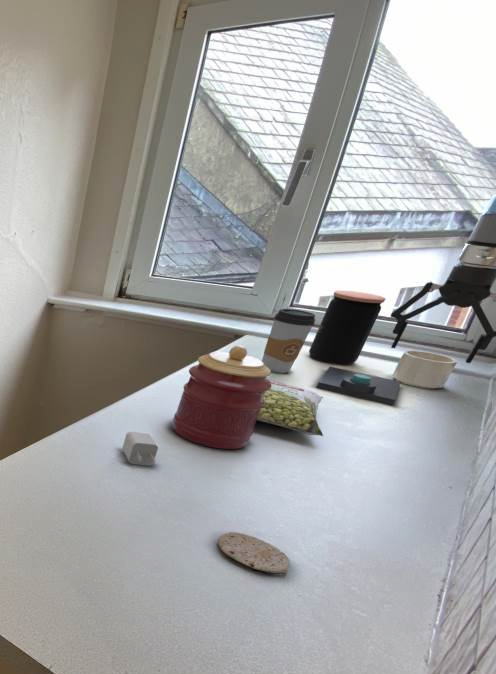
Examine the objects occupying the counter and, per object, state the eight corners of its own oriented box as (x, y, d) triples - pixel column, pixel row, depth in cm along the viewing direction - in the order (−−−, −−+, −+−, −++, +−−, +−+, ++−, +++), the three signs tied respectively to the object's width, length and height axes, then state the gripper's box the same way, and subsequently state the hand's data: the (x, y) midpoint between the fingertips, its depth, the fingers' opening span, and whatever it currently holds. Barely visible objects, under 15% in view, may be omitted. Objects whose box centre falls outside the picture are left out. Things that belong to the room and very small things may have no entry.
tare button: (368, 383, 128) (372, 376, 127) (367, 386, 126) (370, 379, 125) (351, 379, 130) (354, 372, 129) (349, 382, 128) (353, 375, 127)
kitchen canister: (155, 424, 108) (182, 337, 100) (204, 417, 112) (233, 333, 105) (212, 454, 97) (248, 360, 90) (264, 445, 101) (302, 355, 94)
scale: (398, 386, 134) (404, 375, 133) (392, 406, 122) (398, 393, 121) (327, 371, 143) (332, 360, 142) (315, 388, 131) (320, 376, 130)
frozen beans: (203, 388, 110) (220, 359, 128) (193, 414, 112) (211, 382, 130) (331, 422, 99) (330, 385, 117) (316, 450, 102) (317, 409, 120)
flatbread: (205, 547, 73) (208, 541, 72) (234, 530, 77) (237, 524, 76) (272, 584, 67) (275, 577, 66) (300, 564, 70) (303, 558, 70)
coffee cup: (265, 373, 140) (288, 315, 133) (249, 362, 147) (270, 307, 140) (300, 376, 139) (325, 317, 132) (282, 365, 146) (305, 309, 139)
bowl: (442, 383, 138) (457, 357, 135) (441, 393, 132) (457, 365, 128) (392, 373, 144) (405, 347, 141) (389, 381, 138) (403, 355, 134)
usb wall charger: (145, 454, 97) (151, 433, 95) (157, 473, 91) (164, 452, 89) (121, 451, 97) (127, 431, 95) (131, 470, 91) (138, 449, 89)
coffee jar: (326, 352, 159) (353, 290, 151) (364, 364, 149) (396, 299, 141) (297, 354, 156) (324, 290, 148) (335, 366, 147) (366, 299, 139)
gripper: (405, 258, 130) (363, 344, 140) (562, 277, 115) (502, 371, 124) (406, 255, 135) (366, 338, 145) (557, 273, 120) (501, 365, 129)
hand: (429, 354), depth 134 cm, fingers open, 13 cm apart
